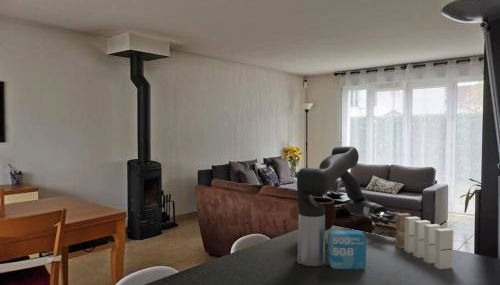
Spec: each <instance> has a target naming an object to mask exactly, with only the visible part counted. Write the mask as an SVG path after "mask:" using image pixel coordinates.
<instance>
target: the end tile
mask: <svg viewBox="0 0 500 285" xmlns="http://www.w3.org/2000/svg"><path fill="white" fill-rule="evenodd" d="M453 248H454V230H453V229H452V228H448V227H446V228H445V227H444V228H441V229H435V263H434V267H435V268H436V269H439V270H444V269H453V257H454V256H453V252H454V251H453Z"/></svg>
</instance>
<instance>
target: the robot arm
mask: <svg viewBox="0 0 500 285" xmlns="http://www.w3.org/2000/svg"><path fill="white" fill-rule="evenodd" d="M359 157H360V154H359V151H358V150H357V148H356V147H353V146H337V147H336V146H335V147H333V149H332V151H331V155H330V156H327V157H326V158H323V160H321V162H320V164H319V166H318V168H313V167H308V168H307V167H302V168H300V169H299V170H298V173H297V176H296V191H297V192H296V193H297V209H298V235H297V264H301V265H304V266H308V267H319V266H322V265H324V264H325V263H326V262H325V260H326V254H325V252H326V248H325V247H326V245H325V235H326V231H325V207H324V206H323V205H322V204H320V203H318V202H316V201H315V200H313V199H312V198H311V196H324V195H326V194H327V193H328V192H329V191H330V189H331V187H333V185H334V184H335V183H336V181H337V180H338V179H340V180H341V182H342V184H343V187H344V190H345V193H346V196H347V198H348V199H350V200H349V201H347V203H346V210H347V211H348V212H349V213H350V214H352V215H354V216H364V217H366V218H368V220H369V221H371V222H373V223H375V224H377V223H378V224H384V225H386V226H388V225H389V222H394V223H396V214H402V213H401V212H399V211H394V212H391V211H389V209H387V208H386V207H385V206H383V205H380V204H378V203H375V202H372V201H370V200H368V199H367V197H366V196H365V195H364V193H363V191H362V188H361V185H360V182H359V180H358V179H357V178H356V177H355V175H353V174H352V173H351V172H350V171H349V170H351V169H352V168H355V167H356V165H357V164H358V162H359V160H360V158H359ZM310 195H311V196H310Z"/></svg>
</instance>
